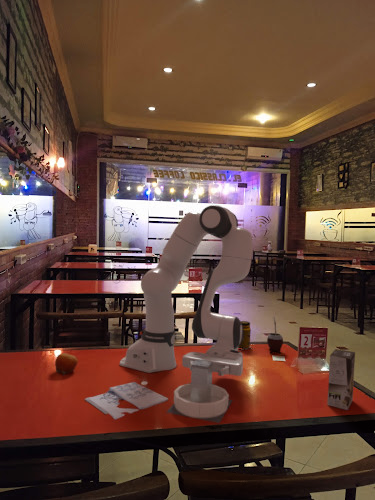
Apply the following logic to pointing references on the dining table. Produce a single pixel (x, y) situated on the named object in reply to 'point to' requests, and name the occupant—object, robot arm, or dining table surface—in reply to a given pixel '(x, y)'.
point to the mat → (215, 419)
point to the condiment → (245, 335)
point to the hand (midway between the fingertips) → (205, 370)
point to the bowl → (201, 409)
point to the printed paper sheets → (127, 392)
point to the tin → (201, 381)
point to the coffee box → (341, 379)
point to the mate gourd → (275, 341)
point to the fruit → (65, 363)
